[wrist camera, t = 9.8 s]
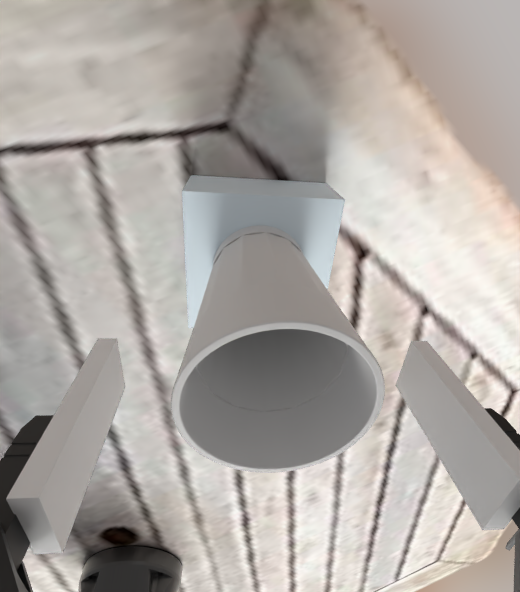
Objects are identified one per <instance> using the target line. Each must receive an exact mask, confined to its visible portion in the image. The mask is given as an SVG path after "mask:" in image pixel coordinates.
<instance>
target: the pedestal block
mask: <svg viewBox="0 0 520 592" xmlns="http://www.w3.org/2000/svg"><path fill="white" fill-rule="evenodd" d="M182 202H183V223H184V245H185V266H186V288H187V309H188V328H194V325H195V322H196V319H197V316H198V312H199V309H200V306H201V303H202V300H203V296H204V293H205V290H206V287H207V284H208V281H209V277H210V274H211V271H212V267H213V261H214V257H215V254H216V252H217V250H218V248H219V246H220V245H221V244H222V242H223V241H224V240H225V239H226V238H227V237H228V236H230V235H231V234H233V233H234V232H236V231H238V230H240V229H242V228H245V227H249V226H256V225H265V226H271V227H275V228H278V229H280V230H282V231H284V232H286V233H287V234H289V235H290V236H291V237H292V238H293V239H294V240H295V241H296V242H297V243H298V245H299V246H300V248H301V250H302V252H303V255H304V256H305V258H306V259H307V261H308V262H309V264H310V265H311V267H312V268H313V269H314V271H315V272H316V274H317V275H318V277H319V278H320V280H321V281H322V283H323V284H324V286H325V287H326V289H327V290H328V285H329V279H330V274H331V269H332V264H333V259H334V254H335V248H336V243H337V238H338V233H339V228H340V223H341V218H342V212H343V207H344V202H345V199H343V198H342V197H341V196H340V195H339V194H338V193H337V192H336V191H334V190H333V189H332V188H331V187H330V186H329V185H328V184H327V183H318V182H301V181H284V180H267V179H250V178H233V177H216V176H199V175H191V176H190V178H189V180H188V181H187V183H186V185H185V187H184V188H183V190H182Z"/></svg>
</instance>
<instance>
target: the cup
mask: <svg viewBox="0 0 520 592" xmlns="http://www.w3.org/2000/svg"><path fill="white" fill-rule="evenodd" d="M384 393H385V385H384V378H383V374H382V371H381V368H380V366H379V364H378V362H377V360H376V359H375V357H374V356H373V354H372V353H371V352H370V350H369V349H368V347H367V346H366V345H365V343H364V342H363V340H362V339H361V338H360V336H359V335H358V333H357V332H356V331H355V329H354V328H353V326H352V325H351V323H350V322H349V321H348V319H347V318H346V316H345V315H344V314H343V312H342V311H341V309H340V308H339V306H338V305H337V303H336V302H335V300H334V299H333V298H332V296H331V295H330V293H329V292H328V290H327V289H326V287H325V286H324V284H323V283H322V281H321V280H320V278H319V277H318V275H317V274H316V272H315V271H314V269H313V268H312V267H311V265H310V264H309V262H308V261H307V259H306V258H305V256H304V255H303V252H302V250H301V248H300V246H299V245H298V243H297V242H296V241H295V240H294V239H293V238H292V237H291V236H290V235H289V234H287V233H286V232H284V231H282V230H280V229H278V228H275V227H271V226H265V225H256V226H249V227H245V228H242V229H240V230H238V231H236V232H234V233H233V234H231V235H230V236H228V237H227V238H226V239H225V240H224V241H223V242H222V244H221V245H220V246H219V248H218V250H217V252H216V254H215V257H214V261H213V267H212V271H211V274H210V277H209V281H208V284H207V287H206V290H205V293H204V296H203V300H202V303H201V306H200V309H199V312H198V316H197V319H196V322H195V325H194V328H193V331H192V335H191V338H190V341H189V343H188V346H187V349H186V352H185V355H184V358H183V361H182V364H181V367H180V370H179V373H178V376H177V379H176V382H175V385H174V388H173V392H172V397H171V410H172V416H173V420H174V423H175V425H176V427H177V429H178V431H179V433H180V434H181V436H182V437H183V438H184V440H185V441H186V442H187V443H188V444H189V445H190V446H191V447H192V448H193V449H194V450H196V451H197V452H198V453H200V454H201V455H203V456H204V457H206V458H208V459H210V460H212V461H214V462H216V463H218V464H221V465H224V466H227V467H230V468H234V469H238V470H243V471H250V472H265V473H269V472H285V471H292V470H297V469H302V468H306V467H310V466H313V465H316V464H319V463H321V462H324V461H326V460H329V459H331V458H333V457H335V456H337V455H339V454H340V453H342V452H344V451H345V450H347V449H348V448H350V447H351V446H352V445H354V444H355V443H356V442H357V441H358V440H360V439H361V438H362V437H363V436H364V435H365V434H366V433H367V431H368V430H369V429H370V428H371V426H372V425H373V423H374V422H375V420H376V419H377V417H378V415H379V413H380V410H381V407H382V404H383V400H384Z"/></svg>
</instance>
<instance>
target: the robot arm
mask: <svg viewBox="0 0 520 592" xmlns="http://www.w3.org/2000/svg"><path fill="white" fill-rule="evenodd" d="M396 387H397V388H398V390H399V392H400V393H401V395H402V397H403V398H404V400H405V402H406V403H407V405H408V407H409V408H410V410H411V412H412V413H413V415H414V417H415V418H416V420H417V422H418V423H419V425H420V427H421V428H422V430H423V432H424V433H425V435H426V437H427V438H428V440H429V442H430V443H431V445H432V447H433V448H434V450H435V452H436V453H437V455H438V457H439V458H440V460H441V462H442V463H443V465H444V467H445V468H446V470H447V472H448V473H449V475H450V477H451V478H452V480H453V482H454V483H455V485H456V487H457V488H458V490H459V492H460V493H461V495H462V497H463V499H464V500H465V502H466V504H467V505H468V507H469V509H470V510H471V512H472V514H473V515H474V517H475V519H476V520H477V522H478V524H479V525H480V527H481V529H482V530H497V529H504V528H505V527H506V526H507V525H508V523H509V522H510V521H511V519H513V521H514V522H515V523H516V525H517V526H518V528H519V529H518V531H517V532H516V533H515V534H514V535H513V537H512V538H511V539H510V540H509V542H508V543H507V545H506V549H507V550H510V549H511V548H512V547H513V546H514V545H515V566H514V567H515V568H514V592H520V435H519V434H517V433H516V430H515V429H514V428H513V427H512V426H511V425H510V423H509V422H508V421H507V420H506V419H505V418H504V417H502V416H501V415H499V414H498V413H497V412H495V411H494V410H493V409H491V408H489V409H484V408H483V407H482V405H481V404H480V403H479V402H478V401H477V399H476V398H475V397H474V396H473V395H472V394H471V392H470V391H469V390H468V389H467V388H466V387H465V385H464V384H463V383H462V382H461V381H460V379H459V378H458V377H457V376H456V375H455V374H454V372H453V371H452V370H451V369H450V368H449V366H448V365H447V364H446V363H445V362H444V361H443V359H442V358H441V357H440V356H439V355H438V354H437V352H436V351H435V350H434V349H433V348H432V346H431V345H430V344H429V343H428V342H427V341H411V343H410V346H409V349H408V352H407V355H406V357H405V360H404V363H403V366H402V369H401V372H400V374H399V377H398V380H397V383H396ZM124 389H125V383H124V377H123V371H122V365H121V359H120V353H119V348H118V342H117V339H98V340H97V341H96V343H95V345H94V346H93V348H92V350H91V352H90V353H89V355H88V357H87V359H86V360H85V362H84V364H83V366H82V367H81V369H80V371H79V373H78V374H77V376H76V378H75V380H74V381H73V383H72V385H71V386H70V388H69V390H68V392H67V393H66V395H65V397H64V399H63V400H62V402H61V404H60V406H59V407H58V409H57V411H56V413H55V414H54V415H53V416H35V417H34V418H33V419H32V420H31V421H30V422H28V423H27V424H26V425H25V426H24V427H23V428H21V430H20V432H19V433H18V435H17V436H16V438H15V439H14V441H13V442H12V446H10V447H9V448H8V450H7V451H6V453H5V454H4V458H2V459H1V461H0V592H33V590H32V587H31V584H30V581H29V578H28V575H27V572H26V569H25V566H24V563H23V561H22V560H23V558H24V556H25V553H26V551H27V549H28V547H29V545H30V546H31V548H32V550H33V552H34V554H51V553H63V551H64V548H65V546H66V543H67V540H68V538H69V535H70V532H71V530H72V527H73V524H74V522H75V519H76V516H77V514H78V511H79V508H80V506H81V503H82V500H83V498H84V495H85V493H86V490H87V487H88V485H89V482H90V479H91V477H92V474H93V471H94V469H95V466H96V463H97V461H98V458H99V455H100V453H101V450H102V447H103V445H104V442H105V439H106V437H107V434H108V432H109V429H110V426H111V424H112V421H113V418H114V416H115V413H116V410H117V408H118V405H119V402H120V400H121V397H122V394H123V392H124ZM181 575H182V565H181V563H180V561H179V560H178V559H177V558H176V557H174V556H173V555H171V554H169V553H167V552H164V551H162V550H158V549H154V548H148V547H137V546H128V547H118V548H112V549H108V550H104V551H101V552H99V553H97V554H95V555H93V556H92V557H90V558H89V559H88V560H87V561H86V563H85V565H84V568H83V571H82V575H81V578H80V582H79V592H178V591H179V588H180V584H181Z"/></svg>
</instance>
